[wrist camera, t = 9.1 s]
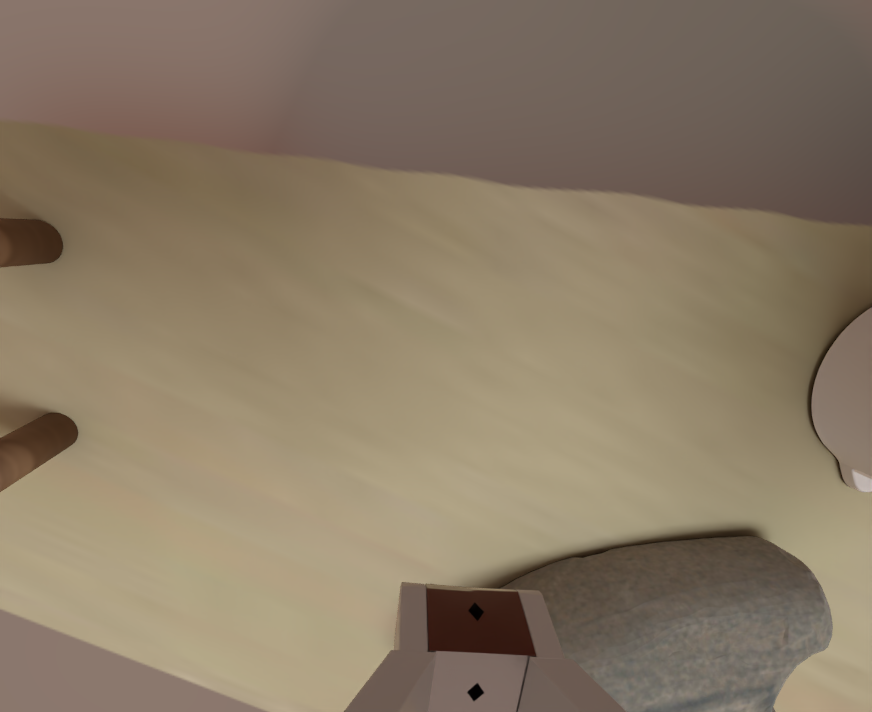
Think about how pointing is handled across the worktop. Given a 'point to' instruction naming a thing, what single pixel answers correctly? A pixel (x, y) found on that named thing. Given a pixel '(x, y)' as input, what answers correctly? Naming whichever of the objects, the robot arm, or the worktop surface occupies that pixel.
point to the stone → (686, 621)
